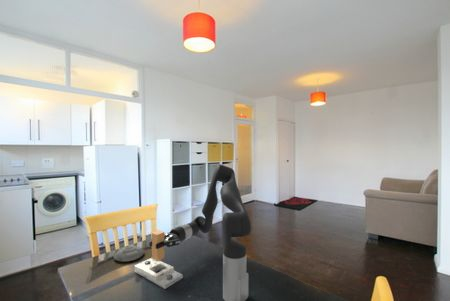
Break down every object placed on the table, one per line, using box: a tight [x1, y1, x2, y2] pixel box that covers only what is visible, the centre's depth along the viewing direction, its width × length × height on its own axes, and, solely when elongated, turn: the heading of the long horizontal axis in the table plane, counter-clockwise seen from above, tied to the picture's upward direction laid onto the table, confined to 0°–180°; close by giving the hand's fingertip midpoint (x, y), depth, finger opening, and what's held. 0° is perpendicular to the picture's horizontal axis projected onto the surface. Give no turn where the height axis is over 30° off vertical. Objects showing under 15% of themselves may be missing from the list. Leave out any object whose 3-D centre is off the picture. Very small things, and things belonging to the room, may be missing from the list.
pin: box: [151, 229, 166, 261], centre depth 104 cm, size 4×4×12 cm
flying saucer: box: [113, 245, 145, 262], centre depth 122 cm, size 15×15×6 cm
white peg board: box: [134, 257, 184, 290], centre depth 104 cm, size 22×10×3 cm, turn 54°
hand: (153, 245), depth 102 cm, fingers closed on pin, 4 cm apart
